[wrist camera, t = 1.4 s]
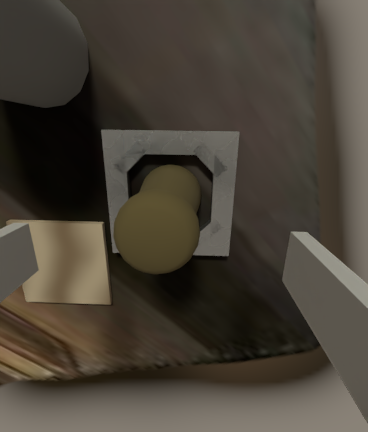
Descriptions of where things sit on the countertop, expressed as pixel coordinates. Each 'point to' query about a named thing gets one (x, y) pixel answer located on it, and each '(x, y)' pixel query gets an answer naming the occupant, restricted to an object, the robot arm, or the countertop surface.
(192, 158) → the countertop surface
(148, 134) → the plate
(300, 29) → the countertop surface
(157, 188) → the pepper shaker
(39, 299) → the coaster
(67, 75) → the cup
